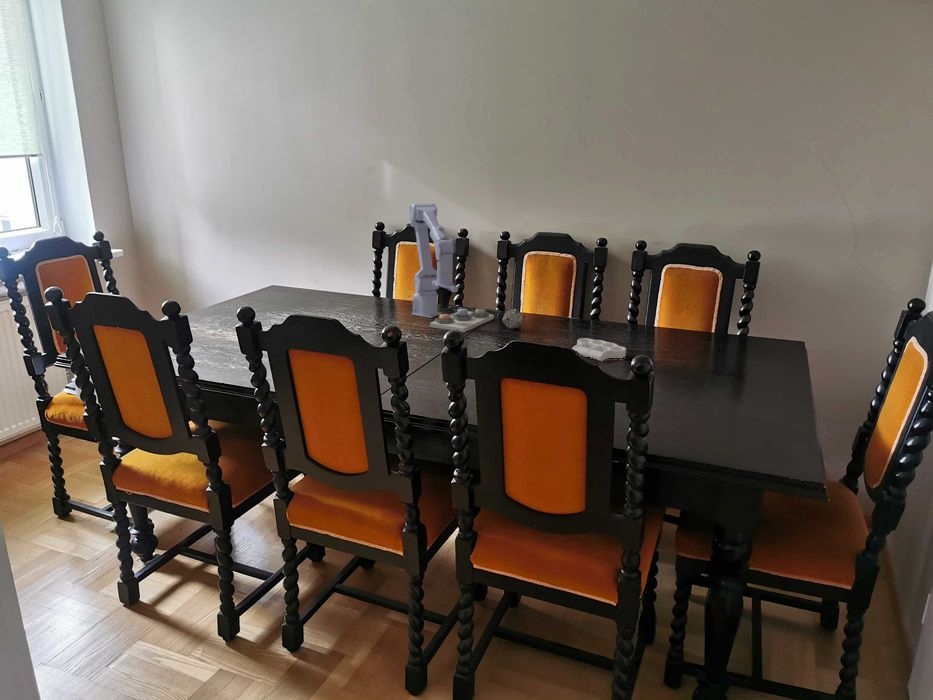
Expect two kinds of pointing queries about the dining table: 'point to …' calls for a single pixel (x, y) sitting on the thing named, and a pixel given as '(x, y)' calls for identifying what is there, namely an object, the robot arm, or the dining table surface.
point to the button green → (479, 311)
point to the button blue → (462, 312)
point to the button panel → (462, 321)
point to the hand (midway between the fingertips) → (444, 307)
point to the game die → (512, 318)
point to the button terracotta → (444, 317)
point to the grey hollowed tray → (599, 349)
